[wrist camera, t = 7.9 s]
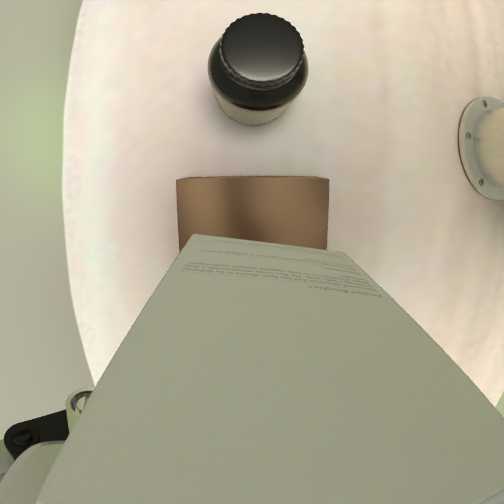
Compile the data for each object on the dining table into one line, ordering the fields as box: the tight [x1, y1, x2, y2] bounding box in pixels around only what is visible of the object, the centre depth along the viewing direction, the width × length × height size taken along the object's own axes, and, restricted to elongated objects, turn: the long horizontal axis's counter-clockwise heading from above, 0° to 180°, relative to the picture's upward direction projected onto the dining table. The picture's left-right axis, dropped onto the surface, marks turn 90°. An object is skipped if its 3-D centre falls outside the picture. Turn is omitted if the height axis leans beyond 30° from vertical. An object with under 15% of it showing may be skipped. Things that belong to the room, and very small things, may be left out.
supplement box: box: [36, 234, 504, 504], centre depth 9 cm, size 7×7×13 cm
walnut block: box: [176, 176, 329, 252], centre depth 28 cm, size 12×12×5 cm
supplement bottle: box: [208, 13, 308, 125], centre depth 20 cm, size 7×7×12 cm
